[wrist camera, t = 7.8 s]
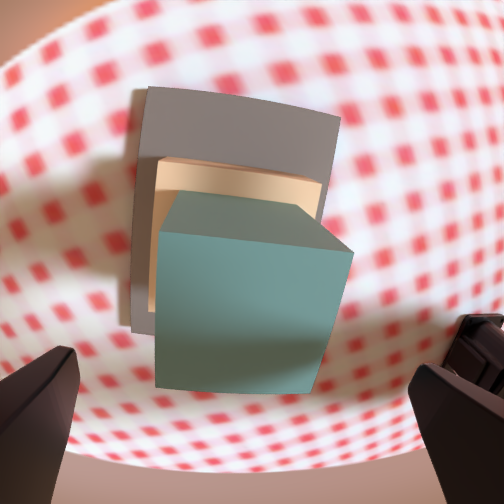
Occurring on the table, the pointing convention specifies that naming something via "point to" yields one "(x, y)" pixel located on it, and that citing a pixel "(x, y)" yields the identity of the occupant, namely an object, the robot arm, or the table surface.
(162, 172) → the maple base block
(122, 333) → the table surface
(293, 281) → the teal block
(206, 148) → the baseplate
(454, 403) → the robot arm
